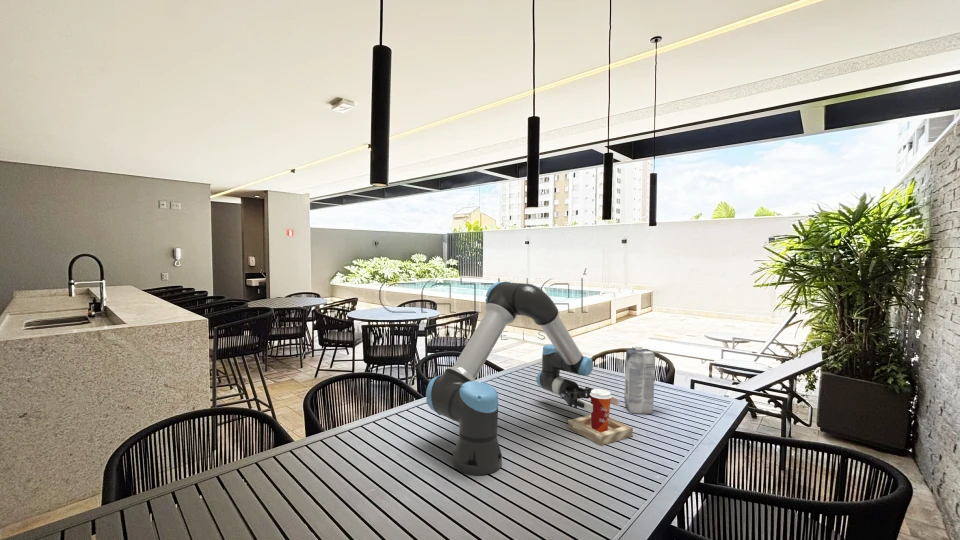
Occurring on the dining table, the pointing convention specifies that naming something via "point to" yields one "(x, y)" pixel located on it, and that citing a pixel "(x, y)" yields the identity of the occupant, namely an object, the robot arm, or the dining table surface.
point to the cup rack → (612, 434)
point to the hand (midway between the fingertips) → (605, 405)
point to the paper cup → (600, 409)
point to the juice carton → (639, 380)
